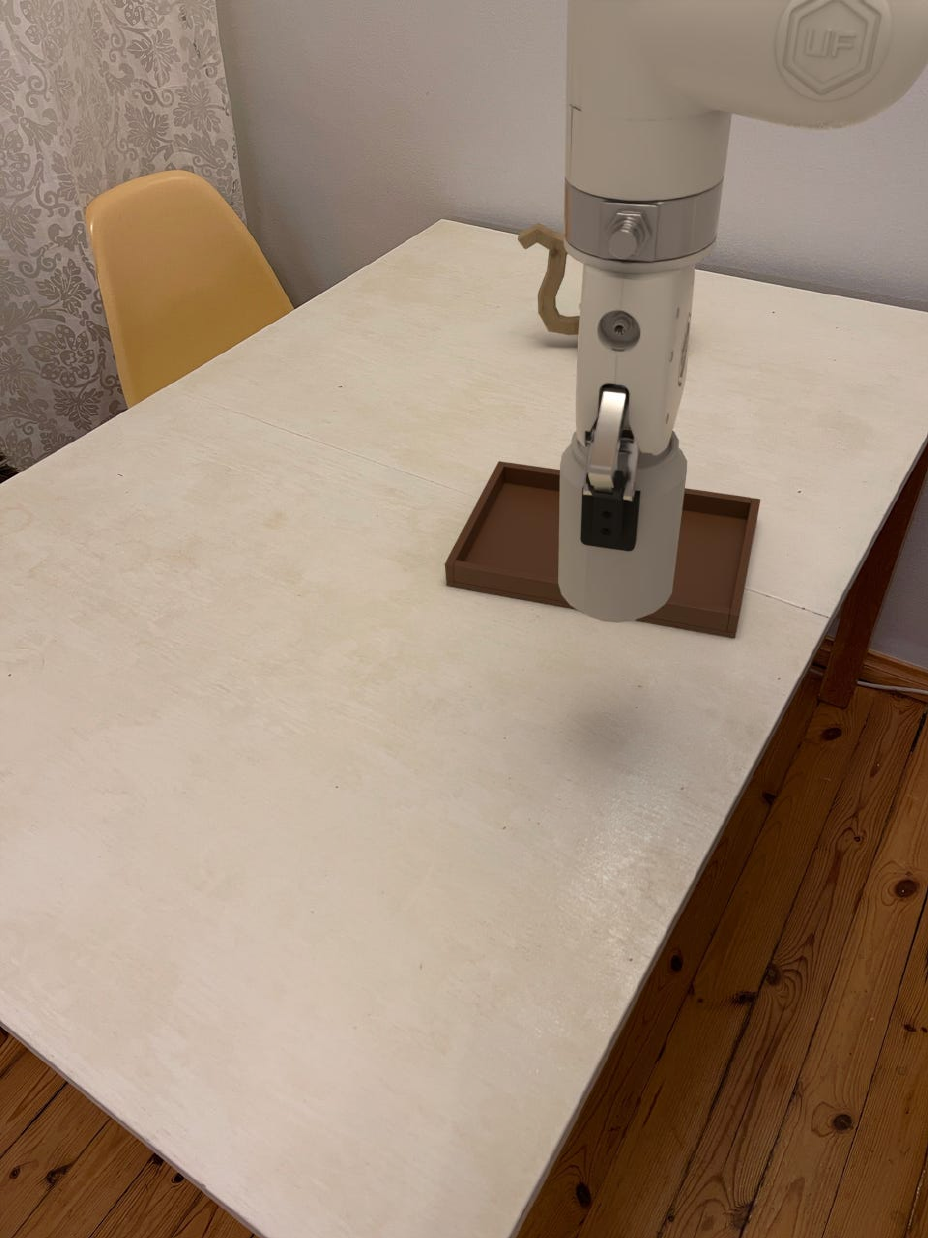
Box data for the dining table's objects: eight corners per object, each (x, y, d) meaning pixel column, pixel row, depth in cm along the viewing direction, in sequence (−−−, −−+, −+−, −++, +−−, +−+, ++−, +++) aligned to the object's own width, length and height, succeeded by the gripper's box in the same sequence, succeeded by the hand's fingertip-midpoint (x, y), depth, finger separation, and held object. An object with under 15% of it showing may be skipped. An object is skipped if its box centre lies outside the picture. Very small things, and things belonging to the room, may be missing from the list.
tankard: (682, 323, 122) (696, 201, 111) (684, 373, 113) (699, 246, 102) (524, 320, 125) (524, 200, 114) (514, 368, 115) (512, 244, 105)
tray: (756, 521, 92) (760, 498, 90) (735, 638, 81) (739, 615, 79) (499, 482, 99) (498, 460, 97) (446, 585, 87) (444, 563, 86)
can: (692, 582, 65) (714, 427, 56) (634, 647, 60) (648, 490, 52) (597, 543, 68) (604, 392, 60) (535, 601, 64) (535, 448, 56)
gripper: (695, 296, 40) (660, 606, 52) (736, 156, 52) (700, 435, 64) (522, 282, 42) (526, 585, 54) (600, 151, 54) (589, 423, 66)
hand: (620, 502), depth 59 cm, fingers closed on can, 7 cm apart
